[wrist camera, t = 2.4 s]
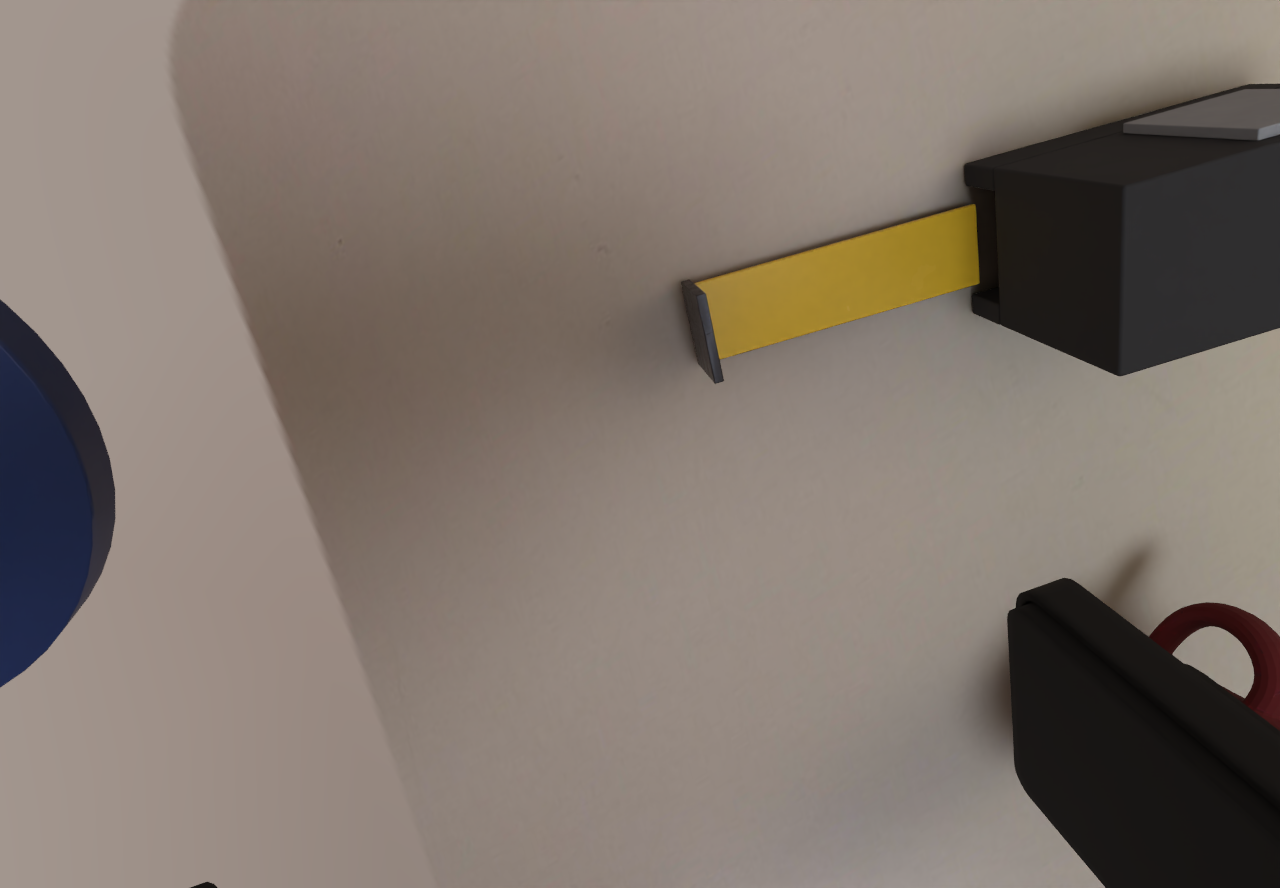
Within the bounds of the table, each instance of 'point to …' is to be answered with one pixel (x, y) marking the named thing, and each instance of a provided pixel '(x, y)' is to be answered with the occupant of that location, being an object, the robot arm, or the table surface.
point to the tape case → (1142, 232)
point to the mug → (1273, 657)
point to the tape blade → (831, 285)
